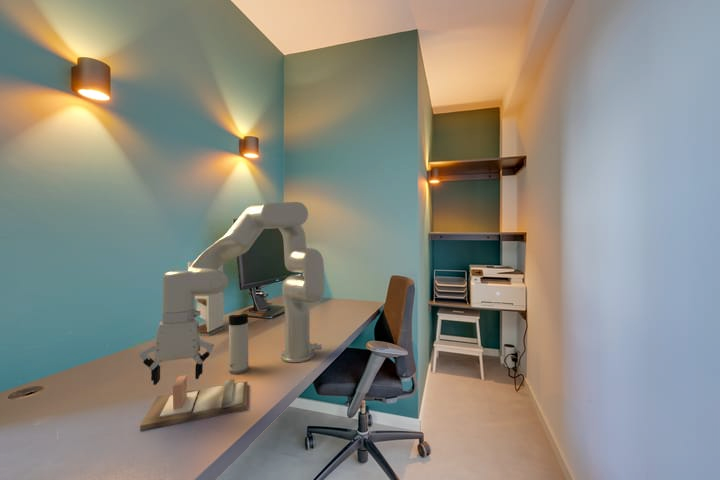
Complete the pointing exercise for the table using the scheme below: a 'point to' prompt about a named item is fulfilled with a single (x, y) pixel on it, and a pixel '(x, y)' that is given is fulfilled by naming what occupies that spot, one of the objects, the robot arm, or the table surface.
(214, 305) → the display case
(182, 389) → the stub
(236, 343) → the travel mug
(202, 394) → the ticket board
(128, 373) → the table surface
